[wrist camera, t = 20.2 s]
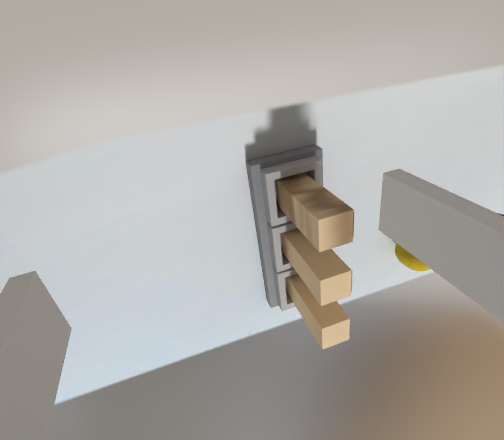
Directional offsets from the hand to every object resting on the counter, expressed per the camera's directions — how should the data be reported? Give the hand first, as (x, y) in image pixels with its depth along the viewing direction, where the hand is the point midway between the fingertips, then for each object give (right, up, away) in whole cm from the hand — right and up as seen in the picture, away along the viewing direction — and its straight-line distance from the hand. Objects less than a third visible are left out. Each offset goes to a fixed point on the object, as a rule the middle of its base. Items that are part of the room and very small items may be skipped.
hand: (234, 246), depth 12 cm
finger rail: (+6, -1, +37) cm, 37 cm away
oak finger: (+6, +5, +31) cm, 32 cm away
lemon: (+27, -3, +46) cm, 53 cm away
